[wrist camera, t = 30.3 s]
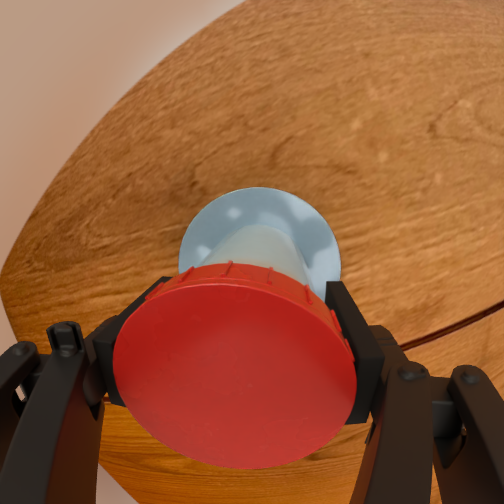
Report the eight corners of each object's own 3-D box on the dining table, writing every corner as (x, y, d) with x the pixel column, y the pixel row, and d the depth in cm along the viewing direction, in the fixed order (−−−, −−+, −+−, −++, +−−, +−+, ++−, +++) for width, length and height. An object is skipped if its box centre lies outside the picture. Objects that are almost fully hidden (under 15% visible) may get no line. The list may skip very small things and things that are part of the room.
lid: (373, 281, 8) (394, 304, 6) (315, 444, 10) (318, 477, 8) (133, 243, 9) (103, 258, 7) (141, 413, 10) (125, 442, 9)
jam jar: (199, 236, 19) (106, 305, 8) (296, 214, 18) (323, 266, 7) (223, 323, 21) (176, 447, 9) (313, 307, 20) (343, 433, 9)
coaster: (164, 208, 20) (160, 209, 19) (322, 171, 18) (324, 171, 18) (205, 347, 22) (203, 352, 21) (347, 323, 21) (349, 327, 20)
